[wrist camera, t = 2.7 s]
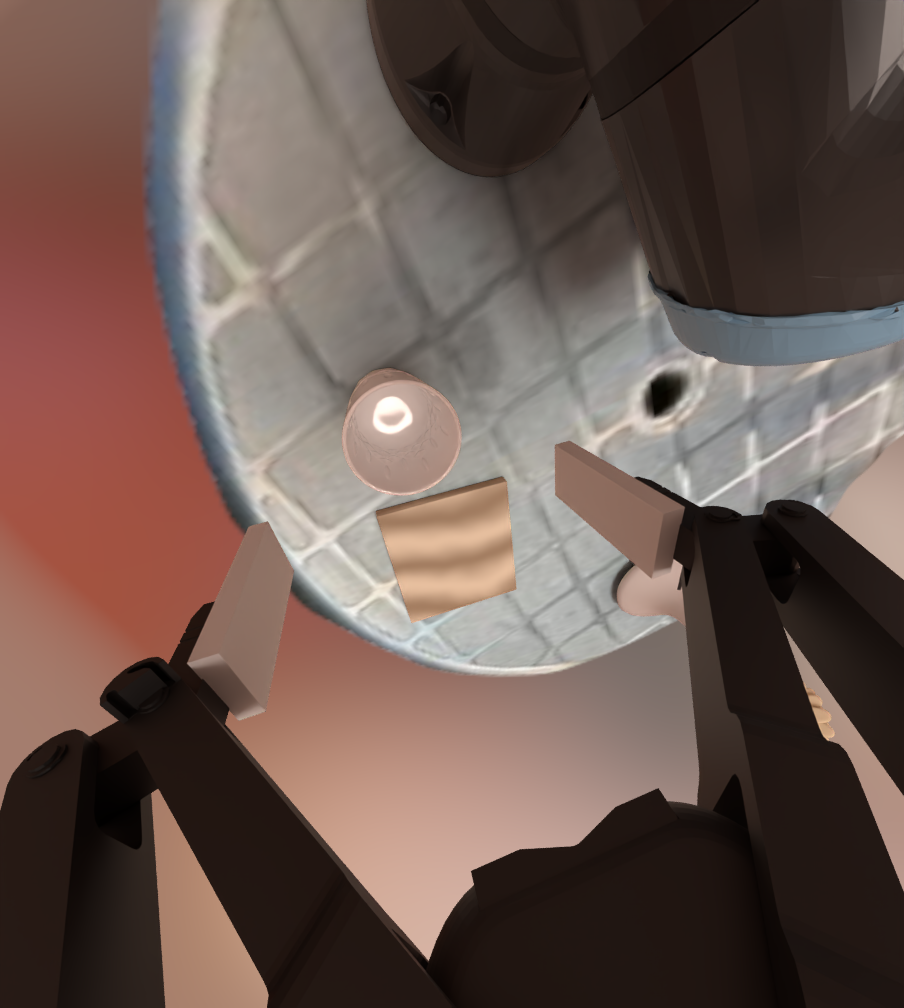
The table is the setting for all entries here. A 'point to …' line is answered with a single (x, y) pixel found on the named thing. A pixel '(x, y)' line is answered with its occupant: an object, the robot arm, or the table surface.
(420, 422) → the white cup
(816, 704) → the flower in vase
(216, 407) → the table surface
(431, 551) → the birch board
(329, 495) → the table surface
